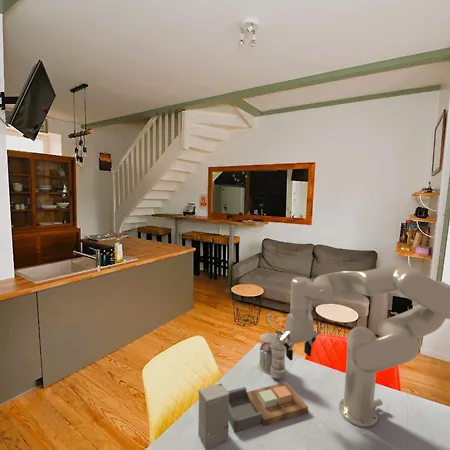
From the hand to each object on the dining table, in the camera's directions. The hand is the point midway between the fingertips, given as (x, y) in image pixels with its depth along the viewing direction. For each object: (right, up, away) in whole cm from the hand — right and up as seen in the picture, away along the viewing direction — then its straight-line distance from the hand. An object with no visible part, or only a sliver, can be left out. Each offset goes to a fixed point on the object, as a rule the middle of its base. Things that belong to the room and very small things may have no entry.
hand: (298, 356), depth 106 cm
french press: (-8, -15, +21) cm, 28 cm away
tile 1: (-12, -16, -2) cm, 20 cm away
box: (-22, -18, -5) cm, 29 cm away
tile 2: (-6, -15, 0) cm, 17 cm away
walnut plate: (-9, -18, -1) cm, 20 cm away
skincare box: (-31, -20, -14) cm, 40 cm away
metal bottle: (-5, -16, +15) cm, 23 cm away
